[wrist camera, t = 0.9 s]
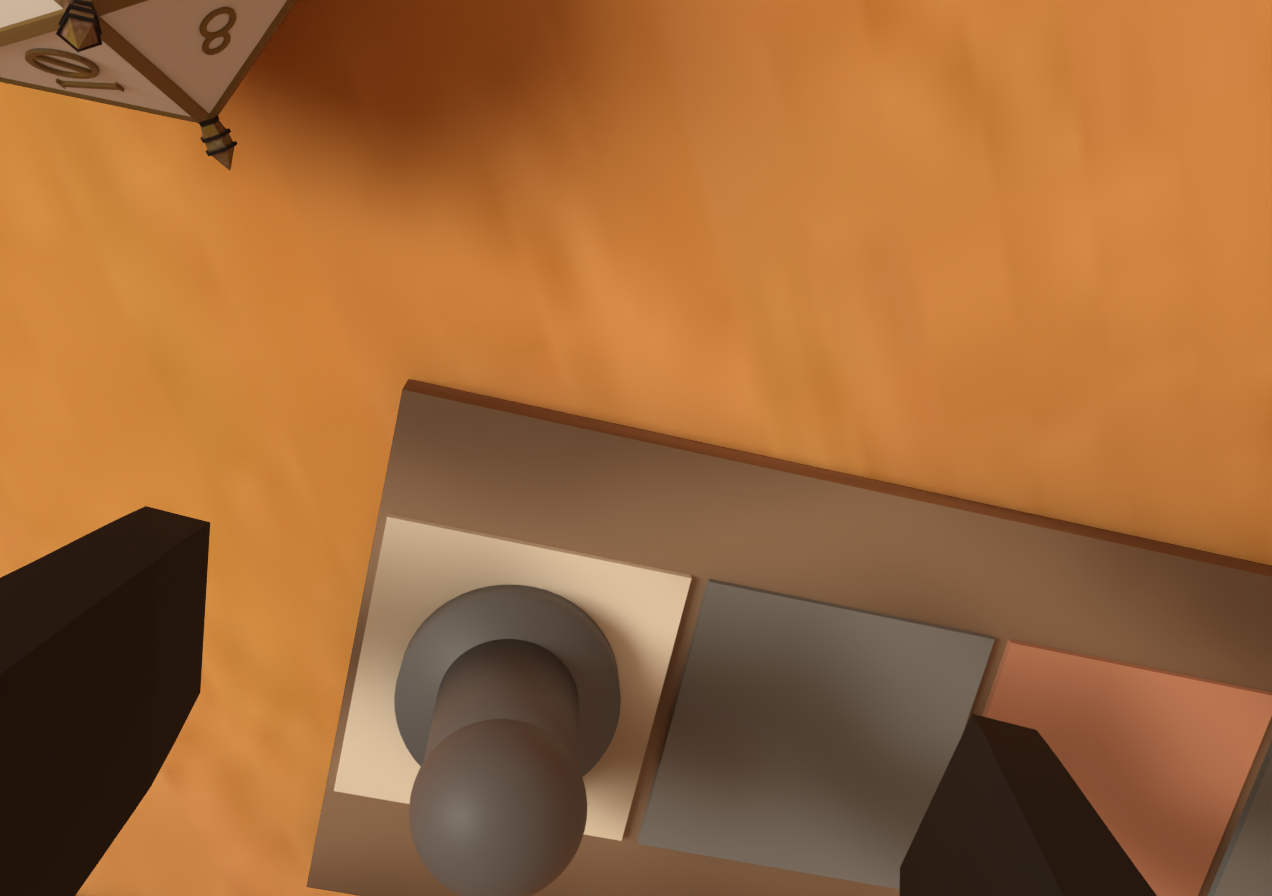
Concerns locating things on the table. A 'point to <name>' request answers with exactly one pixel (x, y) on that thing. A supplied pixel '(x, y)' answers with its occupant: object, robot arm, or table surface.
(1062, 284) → the table surface
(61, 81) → the game die
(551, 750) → the pawn
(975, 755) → the robot arm
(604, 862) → the board
